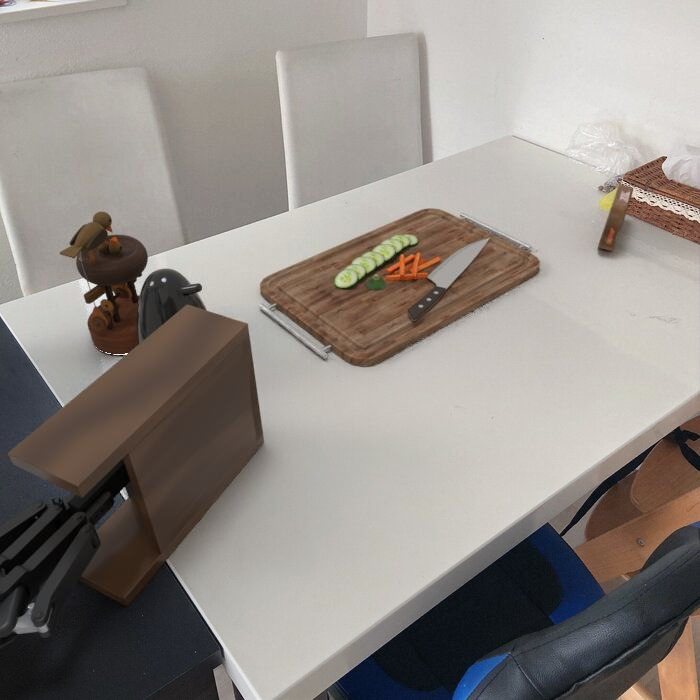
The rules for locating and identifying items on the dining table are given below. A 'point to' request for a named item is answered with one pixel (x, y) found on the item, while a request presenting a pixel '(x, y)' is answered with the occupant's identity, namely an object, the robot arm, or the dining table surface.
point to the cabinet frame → (155, 441)
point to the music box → (109, 282)
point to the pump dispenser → (164, 300)
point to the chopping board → (396, 284)
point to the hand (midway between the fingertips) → (123, 468)
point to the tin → (616, 217)
